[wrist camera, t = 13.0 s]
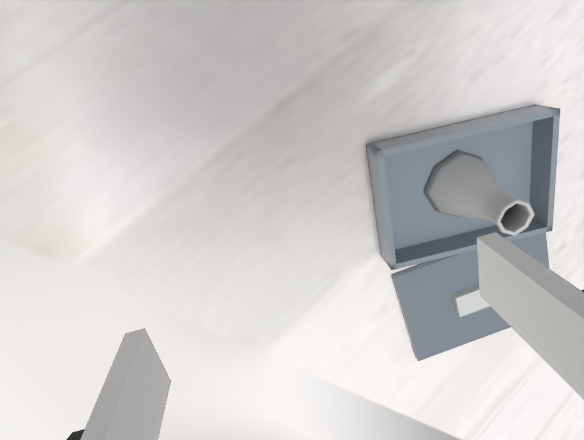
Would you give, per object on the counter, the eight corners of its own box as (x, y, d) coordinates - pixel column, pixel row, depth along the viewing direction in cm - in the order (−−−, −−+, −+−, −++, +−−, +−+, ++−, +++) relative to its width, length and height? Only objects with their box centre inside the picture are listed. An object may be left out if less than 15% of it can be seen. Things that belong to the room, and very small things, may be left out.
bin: (366, 144, 40) (377, 151, 37) (535, 104, 41) (560, 108, 38) (380, 255, 45) (391, 270, 42) (530, 218, 46) (552, 230, 43)
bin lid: (391, 274, 47) (396, 281, 45) (539, 219, 46) (549, 224, 45) (415, 356, 52) (420, 365, 51) (548, 307, 52) (557, 315, 50)
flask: (411, 193, 42) (458, 230, 33) (456, 137, 41) (519, 160, 31) (456, 226, 45) (513, 269, 35) (501, 174, 43) (573, 206, 34)
